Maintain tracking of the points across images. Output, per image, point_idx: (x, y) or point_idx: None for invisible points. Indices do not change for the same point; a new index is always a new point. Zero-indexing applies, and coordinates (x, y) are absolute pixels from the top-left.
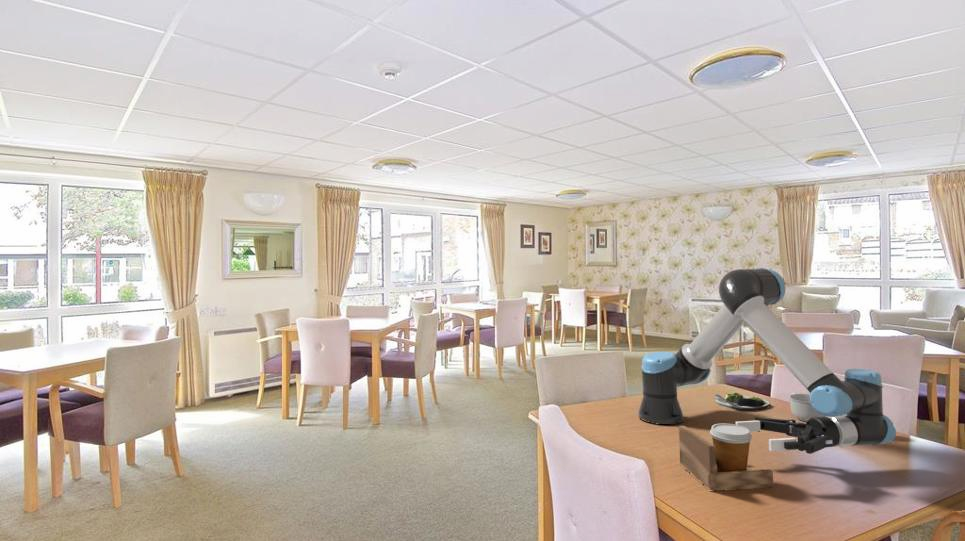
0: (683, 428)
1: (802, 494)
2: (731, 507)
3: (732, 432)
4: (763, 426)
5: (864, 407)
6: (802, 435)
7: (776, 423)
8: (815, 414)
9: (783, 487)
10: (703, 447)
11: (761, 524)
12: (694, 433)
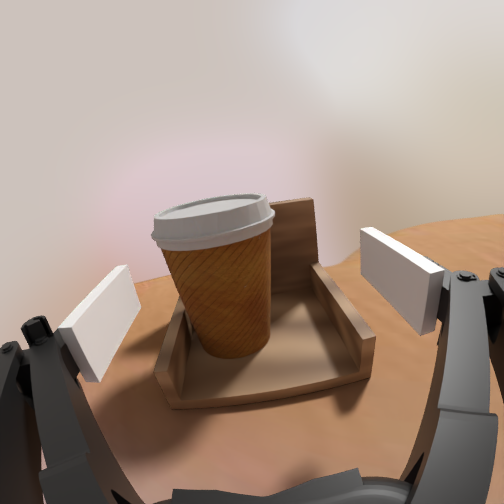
0: (290, 200)
1: (111, 449)
2: (135, 317)
3: (190, 211)
4: (489, 340)
5: None
6: (65, 400)
7: (447, 347)
8: None
9: (163, 433)
10: None
11: None
12: None
